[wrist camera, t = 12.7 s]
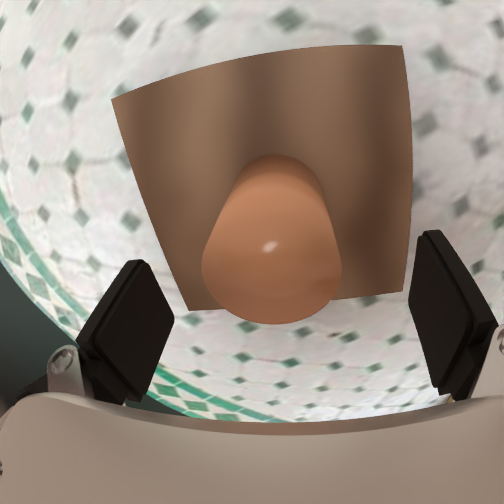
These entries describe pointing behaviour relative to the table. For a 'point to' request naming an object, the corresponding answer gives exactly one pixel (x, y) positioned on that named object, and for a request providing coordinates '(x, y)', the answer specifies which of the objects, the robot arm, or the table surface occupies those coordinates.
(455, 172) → the table surface
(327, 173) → the walnut board
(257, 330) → the table surface
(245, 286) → the terracotta cylinder
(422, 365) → the table surface
